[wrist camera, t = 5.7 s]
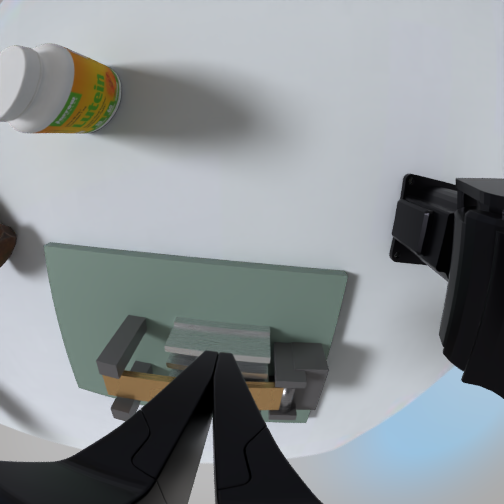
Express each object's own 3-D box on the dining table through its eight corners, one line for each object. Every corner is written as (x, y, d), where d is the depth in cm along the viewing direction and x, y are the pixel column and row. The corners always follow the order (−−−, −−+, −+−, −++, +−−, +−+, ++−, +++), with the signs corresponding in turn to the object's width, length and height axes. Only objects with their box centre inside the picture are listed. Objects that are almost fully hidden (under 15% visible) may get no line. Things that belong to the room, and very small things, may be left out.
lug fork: (145, 317, 22) (116, 365, 16) (152, 373, 24) (131, 422, 18) (128, 314, 22) (95, 360, 16) (137, 370, 24) (114, 418, 18)
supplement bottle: (108, 141, 18) (14, 145, 9) (57, 125, 18) (-36, 128, 9) (134, 71, 17) (53, 30, 7) (79, 61, 16) (-6, 34, 7)
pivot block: (321, 343, 22) (331, 381, 18) (310, 383, 23) (317, 421, 19) (274, 340, 22) (276, 379, 18) (267, 381, 23) (268, 420, 19)
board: (344, 270, 21) (347, 276, 20) (305, 415, 26) (306, 422, 25) (50, 242, 21) (43, 246, 20) (82, 381, 26) (78, 387, 25)
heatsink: (269, 326, 22) (271, 354, 18) (260, 391, 24) (259, 420, 21) (176, 316, 22) (164, 342, 18) (180, 382, 24) (171, 409, 21)
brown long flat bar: (295, 377, 19) (297, 387, 18) (288, 403, 20) (290, 413, 19) (104, 362, 18) (100, 371, 17) (111, 389, 19) (108, 398, 18)
